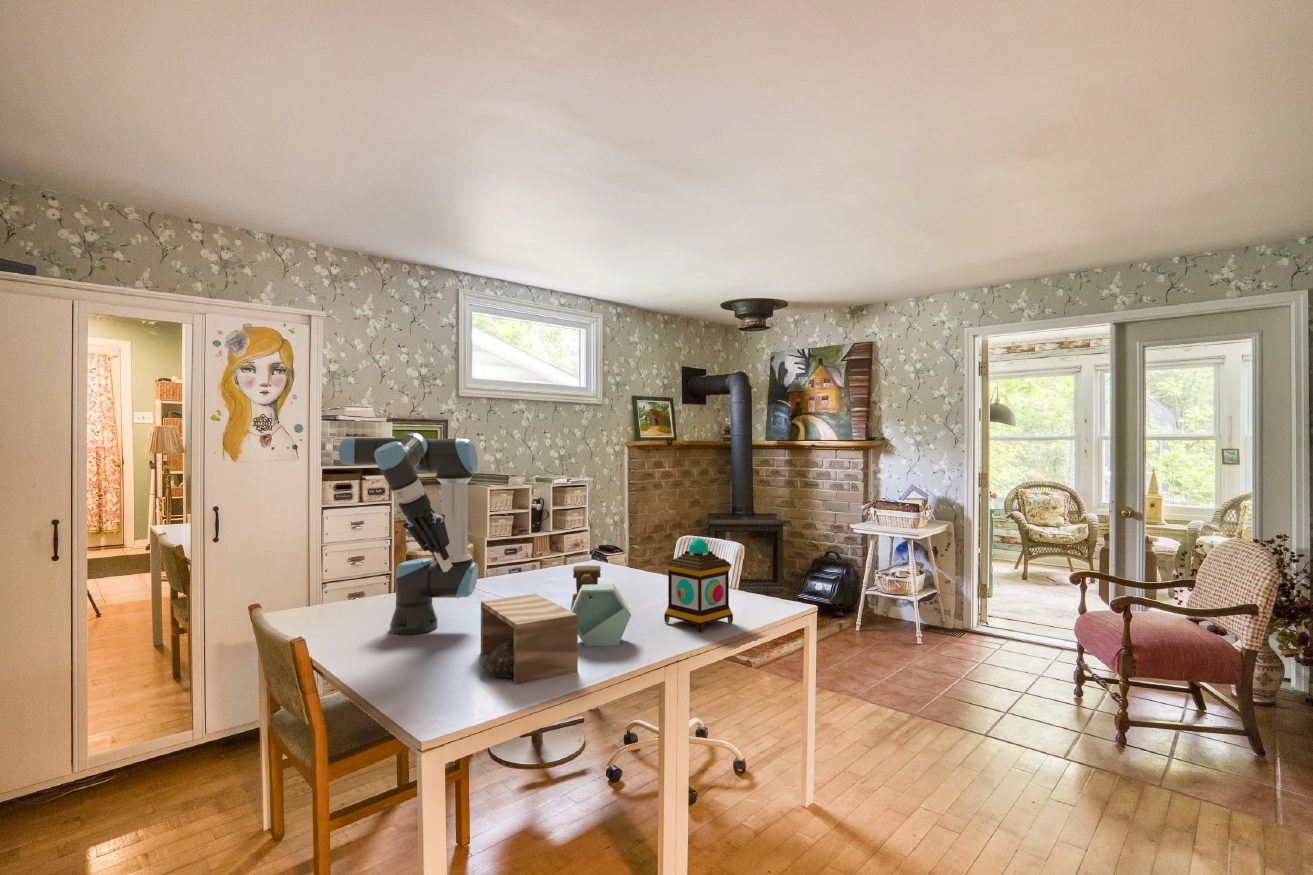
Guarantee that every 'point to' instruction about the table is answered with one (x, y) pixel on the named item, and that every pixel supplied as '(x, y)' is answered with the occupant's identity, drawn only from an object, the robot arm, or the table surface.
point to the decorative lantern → (698, 586)
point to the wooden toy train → (585, 578)
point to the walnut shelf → (532, 635)
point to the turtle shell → (501, 660)
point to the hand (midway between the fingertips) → (447, 568)
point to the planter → (601, 615)
